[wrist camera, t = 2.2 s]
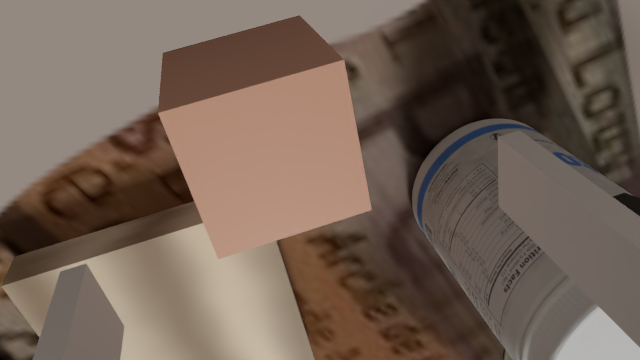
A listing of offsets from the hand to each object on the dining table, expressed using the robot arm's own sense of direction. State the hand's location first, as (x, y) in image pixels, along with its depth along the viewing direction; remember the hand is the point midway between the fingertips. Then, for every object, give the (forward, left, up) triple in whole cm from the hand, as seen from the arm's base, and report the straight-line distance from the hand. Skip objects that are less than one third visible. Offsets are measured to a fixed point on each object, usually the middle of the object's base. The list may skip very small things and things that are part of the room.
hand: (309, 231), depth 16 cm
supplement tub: (+12, -10, -13) cm, 21 cm away
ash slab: (-8, -12, -13) cm, 20 cm away
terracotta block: (0, 0, -13) cm, 13 cm away
